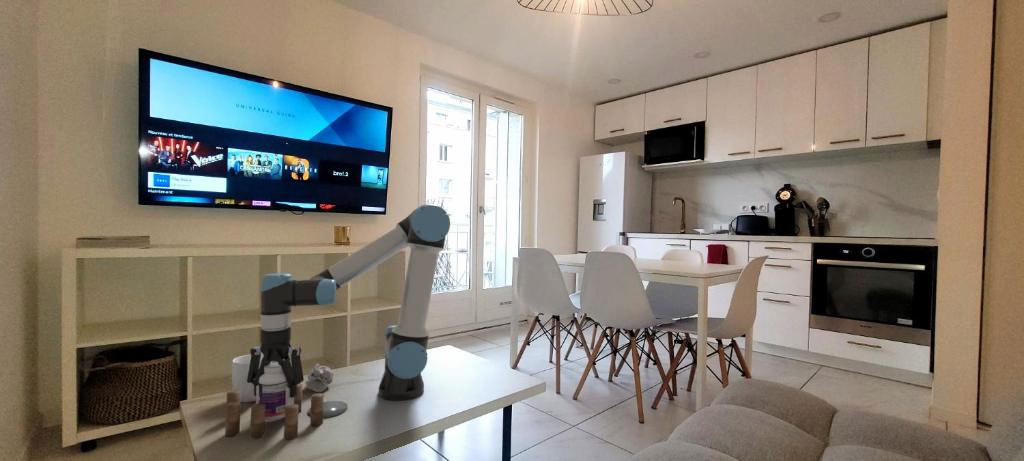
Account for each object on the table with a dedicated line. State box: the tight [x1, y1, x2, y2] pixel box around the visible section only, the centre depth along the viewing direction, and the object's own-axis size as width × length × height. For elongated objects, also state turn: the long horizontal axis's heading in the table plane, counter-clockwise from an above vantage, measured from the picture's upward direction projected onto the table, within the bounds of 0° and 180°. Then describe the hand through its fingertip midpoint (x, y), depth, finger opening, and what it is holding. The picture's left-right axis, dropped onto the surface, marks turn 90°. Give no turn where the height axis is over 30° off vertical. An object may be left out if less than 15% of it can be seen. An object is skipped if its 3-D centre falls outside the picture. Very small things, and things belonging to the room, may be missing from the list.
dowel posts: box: [224, 383, 325, 441], centre depth 115 cm, size 28×18×8 cm, turn 86°
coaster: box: [307, 400, 349, 419], centre depth 125 cm, size 11×11×1 cm
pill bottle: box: [259, 362, 289, 422], centre depth 116 cm, size 8×8×14 cm
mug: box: [231, 352, 273, 403], centre depth 130 cm, size 15×11×13 cm
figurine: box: [305, 363, 334, 393], centre depth 143 cm, size 8×10×12 cm
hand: (275, 407), depth 116 cm, fingers closed on pill bottle, 8 cm apart
